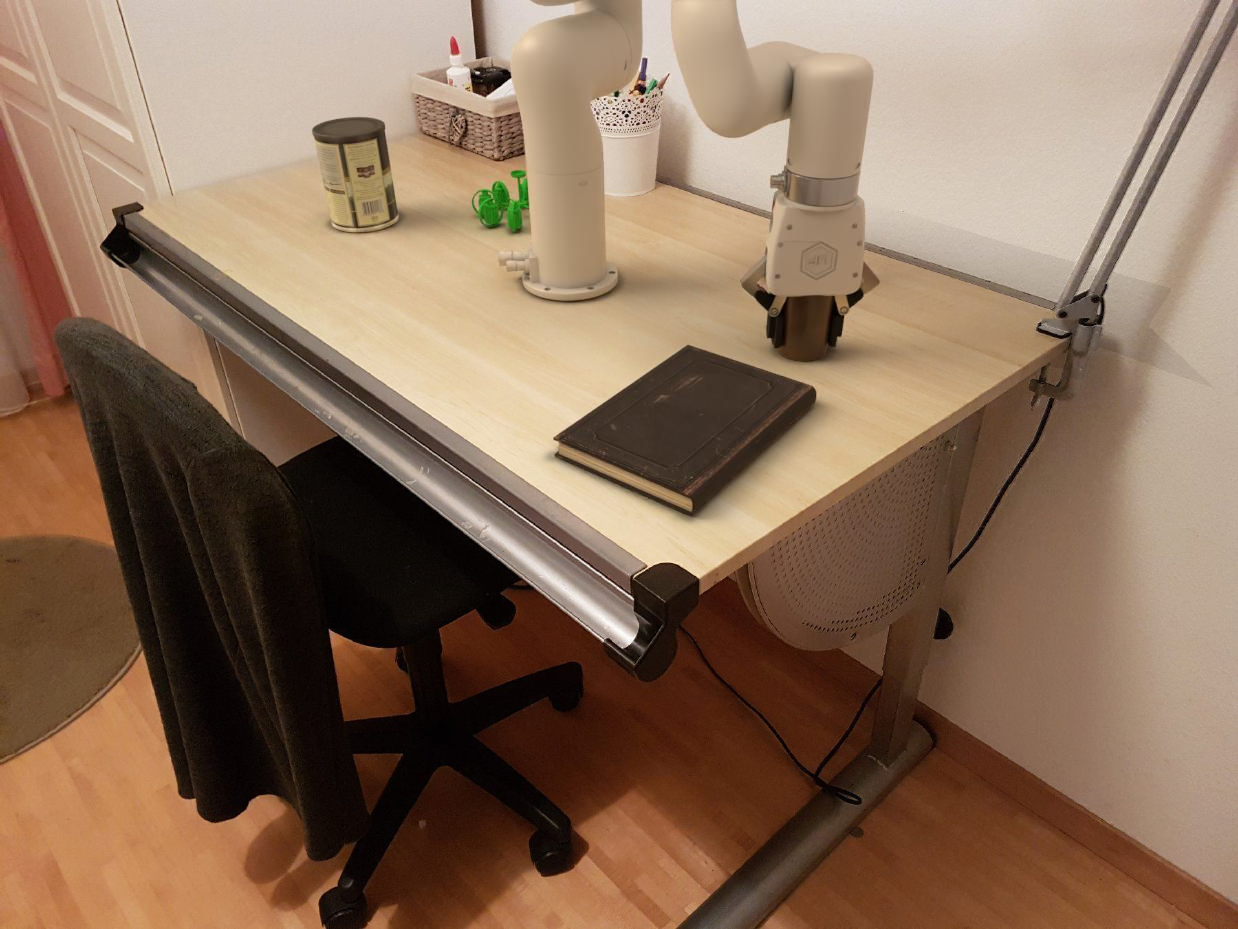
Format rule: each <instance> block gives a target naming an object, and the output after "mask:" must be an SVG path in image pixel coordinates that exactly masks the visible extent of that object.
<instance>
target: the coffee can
mask: <svg viewBox="0 0 1238 929" xmlns="http://www.w3.org/2000/svg"><path fill="white" fill-rule="evenodd" d="M311 133H312V137H313V138H314V143H315V147H316V148H315V149H316V152H317V158H318V163H319V167H320V168H319V169H320V172H321V177H322V182H323V187H324V191H325V196H326V200H327V205H328V206H327V207H328V211H329V216H330V220H331V221H330V224H331V226H332V227H333V228H334V229H335V230H338V231H341V232H345V233H368V232H375V231H380V230H383V229H386V228H388V227H391V226H392V225H394V224H396V223H397V222H398V221H399V219H400V214H399V210H398V204H397V199H396V192H395V186H394V179H393V174H392V168H391V161H390V160H391V159H390V154H389V148H388V142H387V135H386V124H385V121H383V120H381V119H378V118H374V117H368V116H367V117H366V116H352V117H351V116H349V117H348V116H347V117H340V118H335V119H334V118H333V119H330V120H326V121H323V122H320V123H317V124H315V125H314V126H313V127H312V129H311Z"/></svg>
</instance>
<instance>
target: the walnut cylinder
mask: <svg viewBox="0 0 1238 929" xmlns="http://www.w3.org/2000/svg"><path fill="white" fill-rule="evenodd" d="M833 300H834V296H824V295H812V296H796V297H787V298H786V300H785V302H784V305H783V307H782V309H781V313H782V315H783V318H784V321H783V330H782V340H781V347H779V348H776V350H777V352H778V353H779V354H780V355H781V356H782V357H784V358H786V359H789V360H792V361H796V362H797V361H798V362H813V361H817V360H821V359H822V358H823V357H825V356H826V354H827V352H828V337H829V330H830V322H831V315H832V307H833Z"/></svg>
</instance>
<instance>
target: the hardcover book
mask: <svg viewBox="0 0 1238 929" xmlns="http://www.w3.org/2000/svg"><path fill="white" fill-rule="evenodd" d="M816 400H817V389H816V388H815V387H814V386H813V385H811V384H809V383H807V382H803V381H799V380H796V379H794V378H791V377H787V376H784V375H782V374H778V373H776V372H772V371H769V370H766V369H763V368H761V367H757V366H754V365H751V364H748V363H745V362H742V361H739V360H736V359H734V358H731V357H726V356H724V355H721V354H718V353H715V352H712V351H709V350H706V349H703V348H699V347H697V346H693V345H690V344H686V345H685V346H684V347H682V348H680V349H679V350H678V351H676V352H675V353H674V354H672V355H670V356H669V357H667V358H666V359H665V360H663V361H662V362H660V363H659V364H658V365H656V366H655V367H653V368H652V369H650V370H649V371H647V372H646V373H645V374H643V375H642V376H640V377H639V378H637V379H636V380H634V381H633V382H631V383H630V384H629V385H627V386H625V387H624V388H622V390H620V391H618V392H617V393H615V394H614V395H612V396H611V397H609V398H608V399H607V400H606V401H604V402H603V403H601V404H599V405H598V406H597V407H595V408H594V409H592V410H591V411H589V412H588V413H586V414H585V415H584V416H582V417H581V418H579V419H578V420H576V421H575V422H573V423H572V424H570V425H569V426H568V427H565V429H563V430H562V431H561V432H559V433H558V434H556V435H555V436H553V438H552V439H553V441H556V442H557V444H558V446H557V449H558V451H556V452H555V453H554V455H553V456H554V457H556V458H557V459H560V460H562V461H564V462H566V463H569V464H572V465H573V466H576V467H578V468H580V469H583V470H584V471H587V472H589V473H592V474H594V475H596V476H599V477H601V478H603V479H605V480H608V481H610V482H612V483H615V484H616V485H618V486H621V487H623V488H626V489H628V490H630V491H633V492H635V493H637V494H639V495H641V496H644V497H646V498H649V499H651V500H653V501H655V502H658V503H660V504H662V505H664V506H666V507H669V508H671V509H673V510H675V511H677V512H680V513H682V514H685V515H686V516H691V515H694V513H695V512H696V511H697V510H699V508H701V507H702V506H703V505H704V504H705V503H706V502H707V501H709V500H710V499H711V498H712V496H714V495H715V494H716V493H717V492H718V491H720V489H722V488H723V487H724V486H725V485H726V484H727V483H728V482H730V480H732V479H733V478H734V477H735V476H736V475H737V474H738V473H739V472H740V471H741V470H742V469H744V468H745V467H746V466H747V465H748V464H750V462H751V461H752V460H753V459H755V458H756V457H757V456H758V455H759V454H760V453H762V451H764V449H766V447H768V446H769V445H770V444H771V443H772V442H773V441H774V440H775V439H777V437H779V436H780V435H781V434H783V432H784V431H785V430H787V428H789V427H790V426H791V425H792V424H793V423H794V422H795V421H796V420H797V419H798V418H800V417H801V416H802V415H803V414H804V413H805V412H806V411H807V410H808V409H810V407H812V406H813V405H814V404H815V403H816Z"/></svg>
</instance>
